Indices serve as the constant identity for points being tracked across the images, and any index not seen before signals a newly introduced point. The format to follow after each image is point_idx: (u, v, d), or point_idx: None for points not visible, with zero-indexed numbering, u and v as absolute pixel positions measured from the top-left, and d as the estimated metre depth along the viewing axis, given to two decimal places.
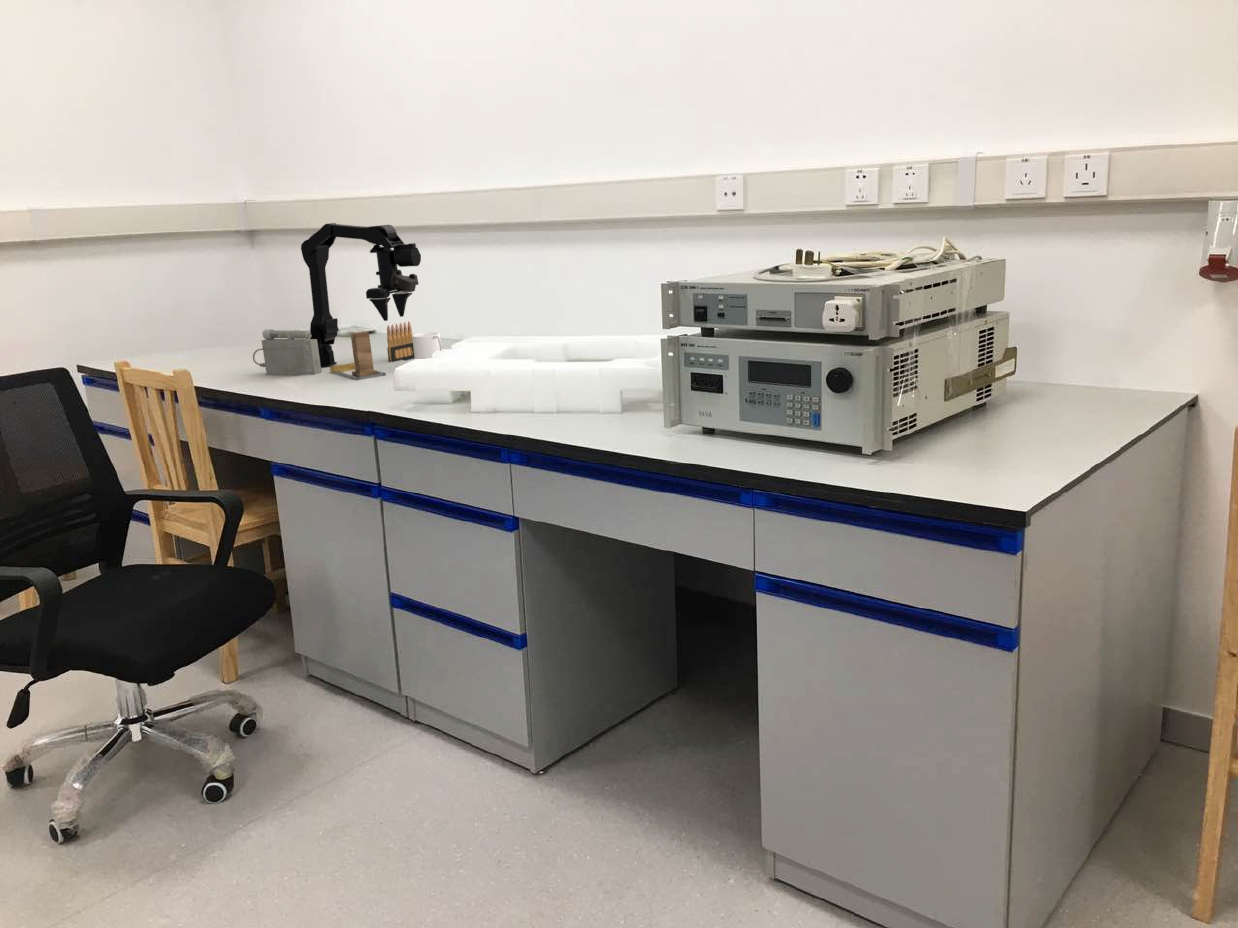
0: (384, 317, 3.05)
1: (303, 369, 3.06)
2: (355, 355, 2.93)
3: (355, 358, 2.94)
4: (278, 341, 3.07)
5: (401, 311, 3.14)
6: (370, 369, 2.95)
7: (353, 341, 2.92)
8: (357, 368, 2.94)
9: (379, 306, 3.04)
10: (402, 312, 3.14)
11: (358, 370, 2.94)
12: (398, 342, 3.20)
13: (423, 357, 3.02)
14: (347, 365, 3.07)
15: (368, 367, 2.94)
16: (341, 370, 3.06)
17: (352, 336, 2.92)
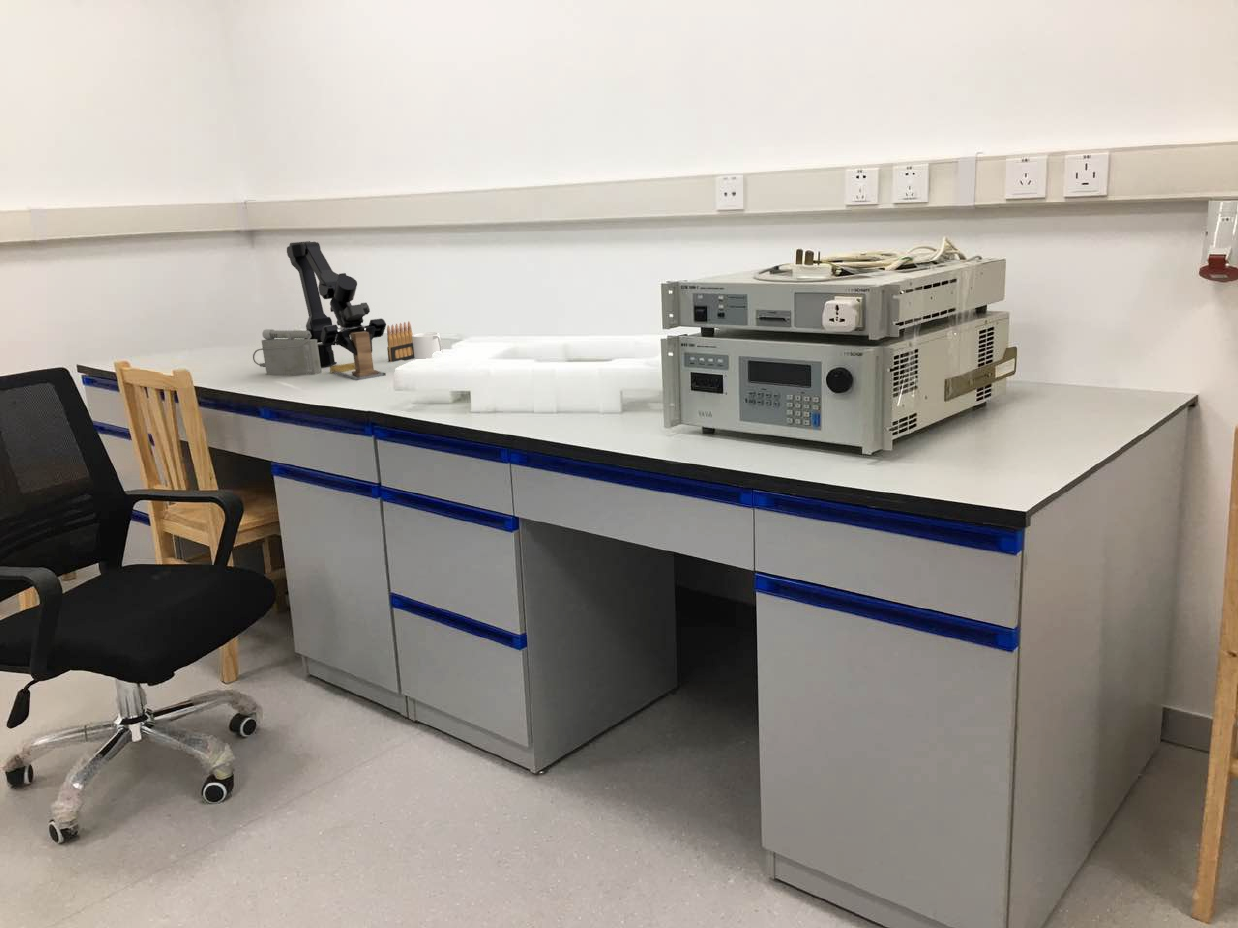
0: (353, 351, 2.92)
1: (303, 369, 3.06)
2: (355, 355, 2.93)
3: (355, 358, 2.94)
4: (278, 341, 3.07)
5: None
6: (370, 369, 2.95)
7: (353, 341, 2.92)
8: (357, 368, 2.94)
9: (346, 344, 2.93)
10: None
11: (358, 370, 2.94)
12: (398, 342, 3.20)
13: (423, 357, 3.02)
14: (347, 365, 3.07)
15: (368, 367, 2.94)
16: (341, 370, 3.06)
17: (352, 336, 2.92)
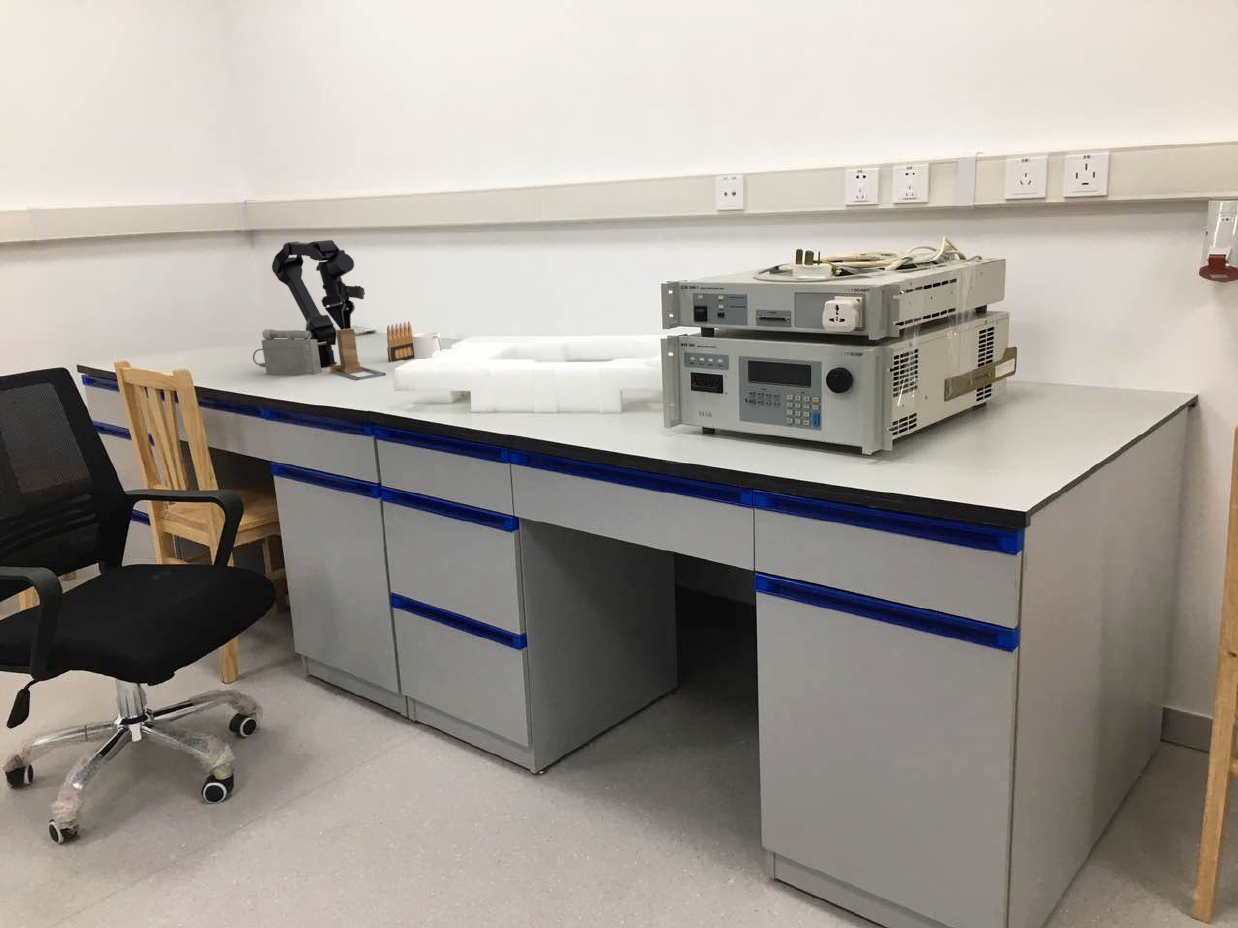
0: (341, 325, 3.03)
1: (303, 369, 3.06)
2: (340, 351, 3.02)
3: (341, 355, 3.02)
4: (278, 341, 3.07)
5: (348, 326, 3.12)
6: (355, 365, 3.03)
7: (338, 338, 3.01)
8: (342, 364, 3.03)
9: (335, 314, 3.02)
10: (349, 327, 3.12)
11: (343, 366, 3.03)
12: (398, 342, 3.20)
13: (423, 357, 3.02)
14: None
15: (354, 363, 3.03)
16: None
17: (338, 333, 3.01)
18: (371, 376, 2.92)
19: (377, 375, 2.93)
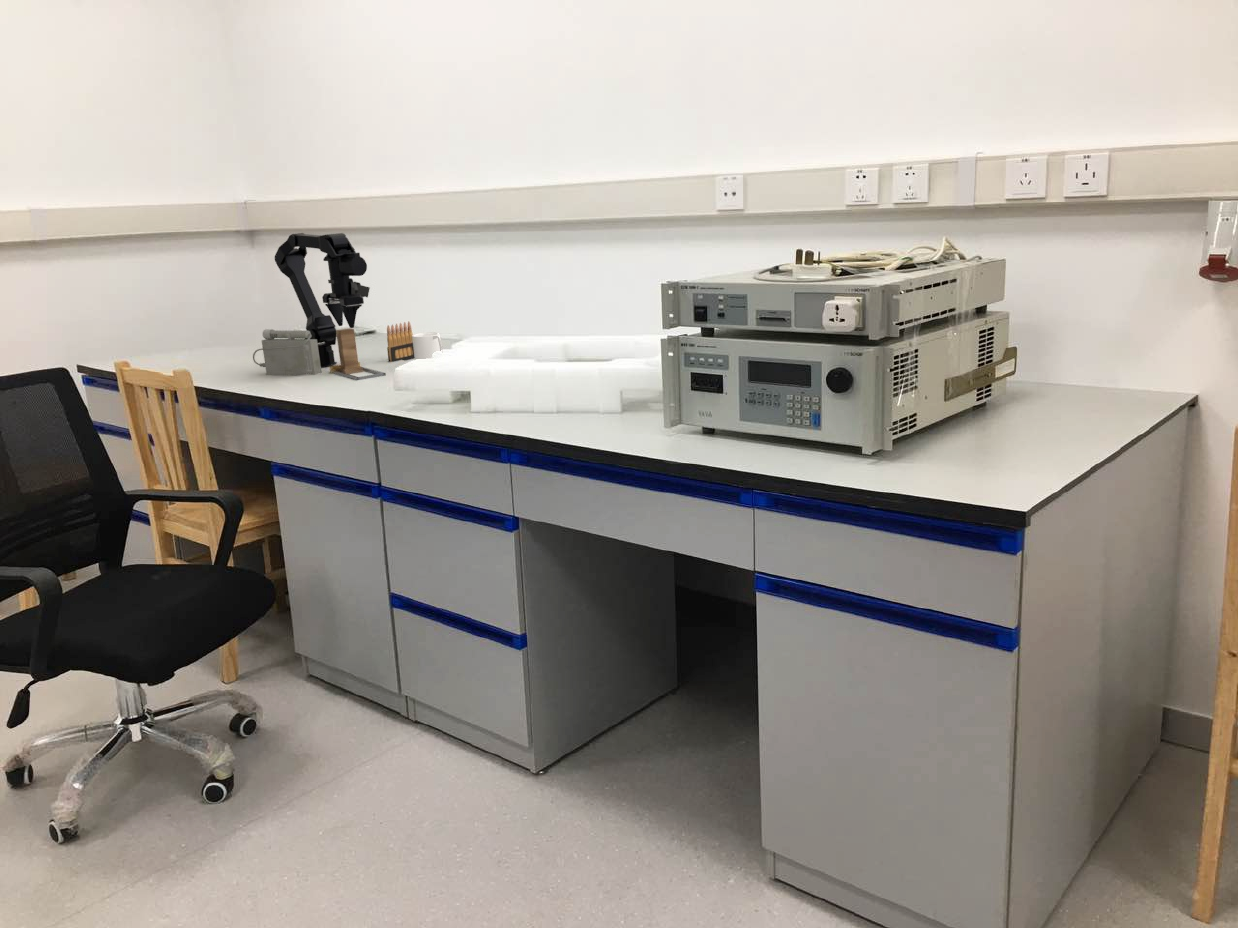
0: (352, 324, 3.06)
1: (303, 369, 3.06)
2: (340, 351, 3.02)
3: (341, 355, 3.02)
4: (278, 341, 3.07)
5: (340, 320, 3.14)
6: (355, 365, 3.03)
7: (338, 338, 3.01)
8: (342, 364, 3.03)
9: (349, 313, 3.04)
10: (341, 321, 3.14)
11: (343, 366, 3.03)
12: (398, 342, 3.20)
13: (423, 357, 3.02)
14: None
15: (354, 363, 3.03)
16: None
17: (338, 333, 3.01)
18: (371, 376, 2.92)
19: (377, 375, 2.93)
